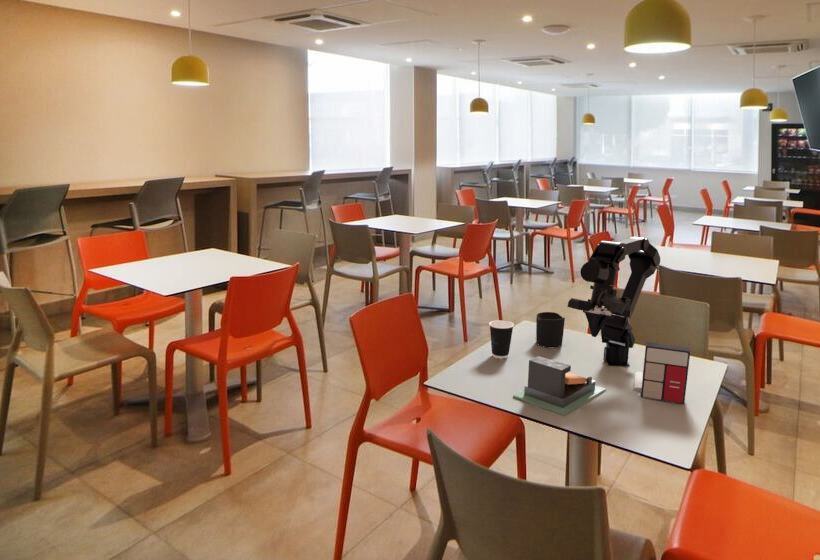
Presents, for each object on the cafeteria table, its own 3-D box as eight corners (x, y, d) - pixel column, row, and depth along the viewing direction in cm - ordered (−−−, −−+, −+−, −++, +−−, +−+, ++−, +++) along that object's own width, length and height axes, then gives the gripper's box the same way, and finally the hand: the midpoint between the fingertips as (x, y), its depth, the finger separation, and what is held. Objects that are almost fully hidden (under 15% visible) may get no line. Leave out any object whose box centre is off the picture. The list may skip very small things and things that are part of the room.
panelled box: (640, 398, 168) (645, 346, 165) (641, 392, 172) (646, 341, 169) (684, 405, 164) (690, 352, 161) (684, 399, 168) (690, 347, 164)
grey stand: (557, 377, 181) (559, 344, 178) (594, 389, 173) (597, 354, 170) (524, 394, 169) (525, 359, 167) (562, 408, 161) (565, 371, 158)
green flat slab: (555, 375, 184) (555, 373, 184) (605, 390, 173) (605, 388, 173) (512, 397, 169) (513, 395, 169) (564, 415, 158) (564, 413, 158)
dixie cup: (516, 354, 201) (517, 322, 199) (507, 362, 194) (509, 329, 192) (493, 350, 205) (494, 318, 202) (484, 357, 198) (485, 325, 196)
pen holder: (565, 341, 214) (567, 314, 211) (559, 350, 206) (561, 321, 203) (538, 337, 218) (540, 310, 215) (532, 346, 209) (533, 317, 207)
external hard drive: (664, 380, 182) (664, 396, 171) (634, 376, 185) (633, 392, 174) (664, 375, 182) (665, 390, 171) (635, 371, 185) (634, 386, 174)
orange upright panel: (556, 368, 178) (536, 368, 170) (588, 377, 171) (569, 378, 163) (555, 373, 178) (535, 374, 170) (587, 383, 171) (567, 384, 163)
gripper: (596, 283, 168) (585, 339, 169) (648, 292, 175) (638, 345, 176) (571, 278, 179) (561, 331, 179) (621, 287, 186) (612, 337, 187)
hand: (593, 336), depth 180 cm, fingers closed
